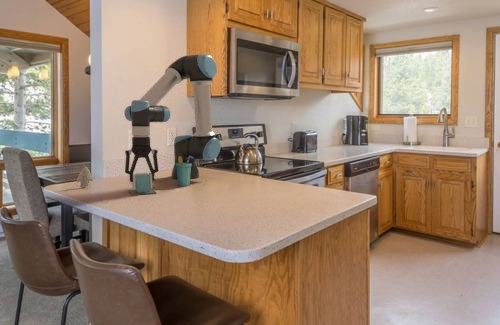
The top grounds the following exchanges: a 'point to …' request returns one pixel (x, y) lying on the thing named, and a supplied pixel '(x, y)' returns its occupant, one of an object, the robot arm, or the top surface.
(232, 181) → the top surface
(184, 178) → the cup
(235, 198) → the top surface
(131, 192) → the tan and gray stand
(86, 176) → the arrowhead
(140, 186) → the teal rectangular block
